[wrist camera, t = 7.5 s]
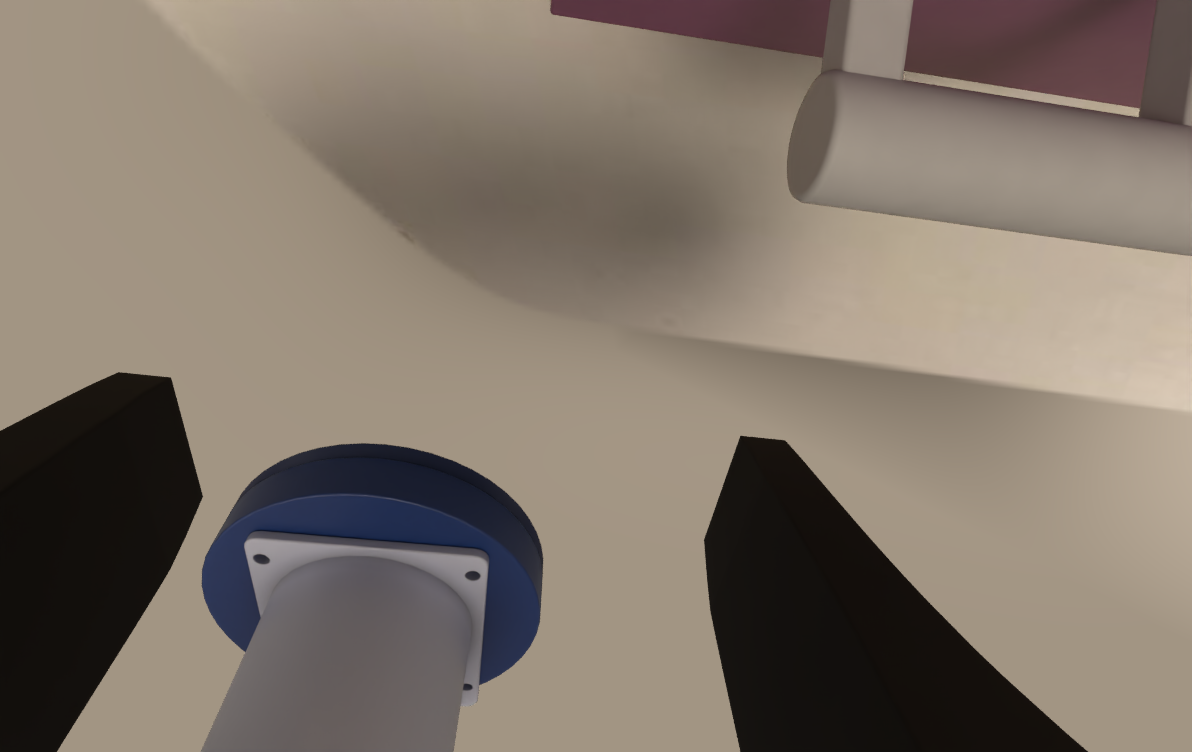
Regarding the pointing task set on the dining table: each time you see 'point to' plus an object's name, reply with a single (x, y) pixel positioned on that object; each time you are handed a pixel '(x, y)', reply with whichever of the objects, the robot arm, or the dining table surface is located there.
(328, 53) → the dining table surface
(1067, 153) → the lid
